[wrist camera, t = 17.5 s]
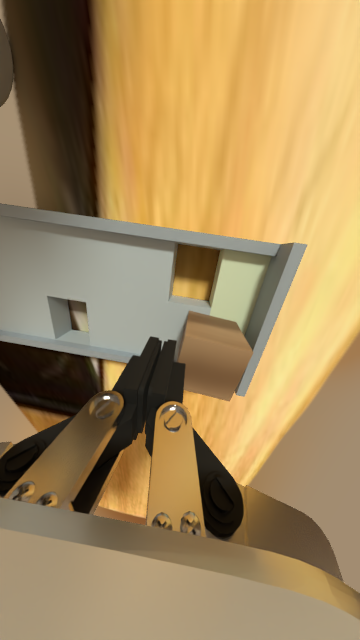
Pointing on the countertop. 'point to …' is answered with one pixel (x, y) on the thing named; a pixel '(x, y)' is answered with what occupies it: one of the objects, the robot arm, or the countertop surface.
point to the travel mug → (5, 66)
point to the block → (213, 355)
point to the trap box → (129, 284)
